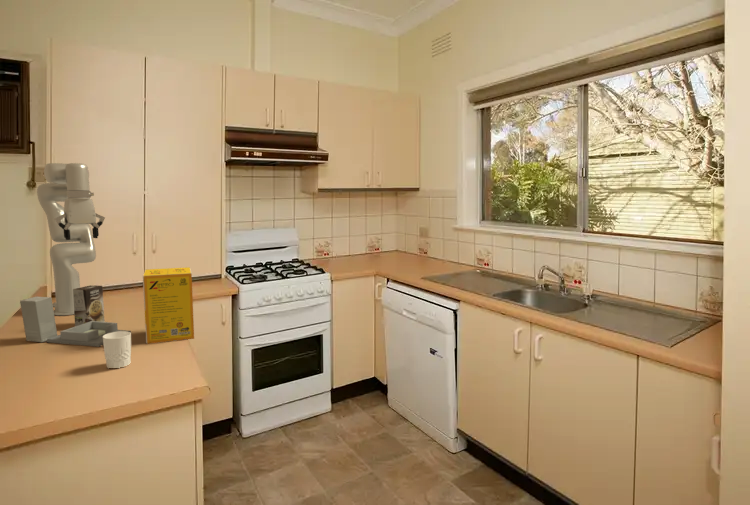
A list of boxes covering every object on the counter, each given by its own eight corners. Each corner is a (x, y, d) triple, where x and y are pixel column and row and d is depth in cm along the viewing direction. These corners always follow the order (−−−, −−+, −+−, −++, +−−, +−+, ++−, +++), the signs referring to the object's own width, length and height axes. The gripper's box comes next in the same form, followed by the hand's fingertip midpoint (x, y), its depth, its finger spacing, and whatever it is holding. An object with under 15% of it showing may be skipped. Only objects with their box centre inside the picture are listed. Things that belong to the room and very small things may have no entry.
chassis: (47, 342, 170) (46, 331, 170) (82, 329, 186) (82, 319, 185) (98, 346, 166) (98, 335, 165) (130, 333, 181) (130, 323, 181)
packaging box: (148, 331, 184) (145, 269, 181) (192, 327, 191) (190, 267, 188) (146, 343, 170) (142, 276, 166) (194, 338, 176) (191, 273, 173)
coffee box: (88, 329, 187) (85, 289, 185) (74, 328, 188) (71, 288, 186) (105, 323, 196) (103, 285, 194) (92, 322, 197) (89, 284, 195)
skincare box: (58, 338, 175) (54, 296, 173) (39, 343, 169) (35, 300, 167) (42, 335, 178) (38, 295, 176) (22, 341, 171) (19, 299, 169)
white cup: (111, 361, 152) (109, 331, 151) (136, 360, 153) (135, 331, 151) (99, 370, 144) (97, 338, 143) (126, 369, 145) (124, 338, 143)
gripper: (99, 195, 192) (101, 237, 194) (49, 195, 179) (53, 239, 181) (106, 195, 187) (109, 238, 189) (56, 195, 174) (59, 240, 176)
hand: (81, 238), depth 185 cm, fingers open, 9 cm apart
